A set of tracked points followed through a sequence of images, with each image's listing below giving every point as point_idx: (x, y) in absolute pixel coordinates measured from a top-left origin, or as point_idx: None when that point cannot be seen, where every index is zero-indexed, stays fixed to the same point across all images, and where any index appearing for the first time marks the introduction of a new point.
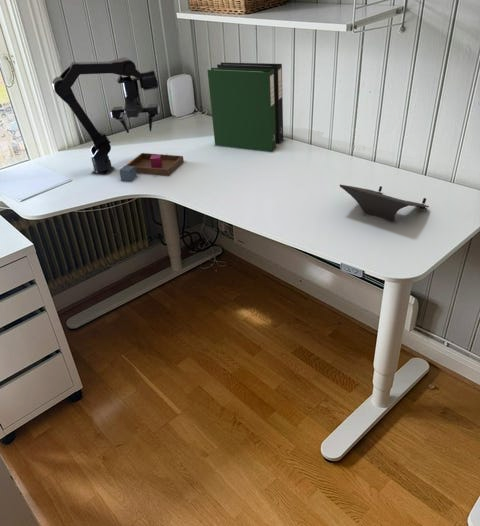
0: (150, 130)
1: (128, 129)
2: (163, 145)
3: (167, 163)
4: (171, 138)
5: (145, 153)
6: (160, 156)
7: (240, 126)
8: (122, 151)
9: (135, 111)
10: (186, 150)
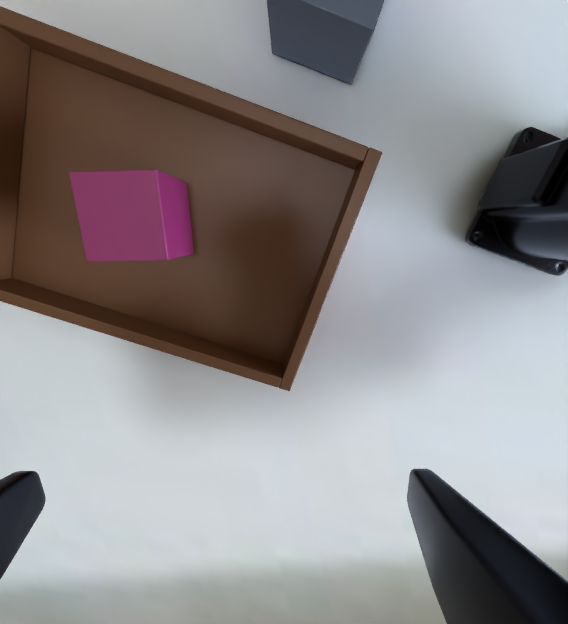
0: (6, 479)
1: (426, 550)
2: (207, 524)
3: None
4: (186, 594)
5: (261, 377)
6: (79, 221)
7: None
8: None
9: None
10: (54, 445)
